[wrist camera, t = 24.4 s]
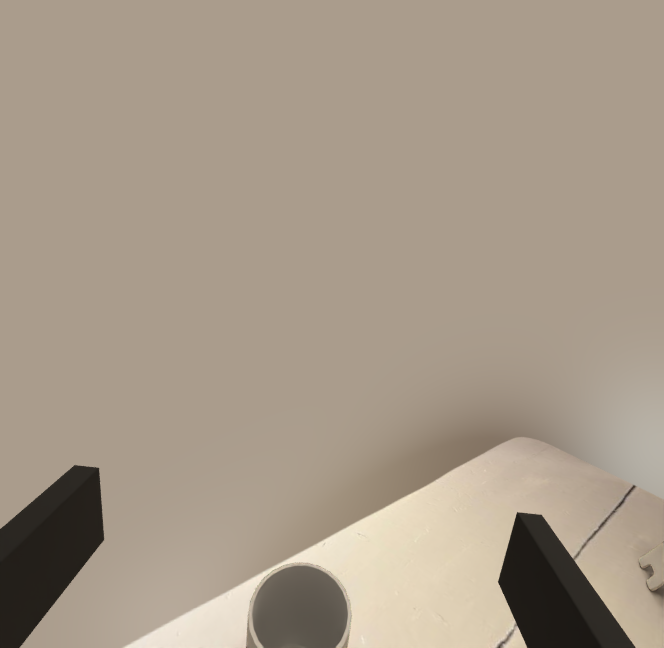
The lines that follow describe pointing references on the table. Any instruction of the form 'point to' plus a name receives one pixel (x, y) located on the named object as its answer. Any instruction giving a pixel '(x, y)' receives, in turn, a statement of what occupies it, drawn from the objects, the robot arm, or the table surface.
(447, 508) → the table surface
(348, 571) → the table surface
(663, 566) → the tablet stand
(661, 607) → the table surface
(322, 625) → the cup
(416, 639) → the table surface
